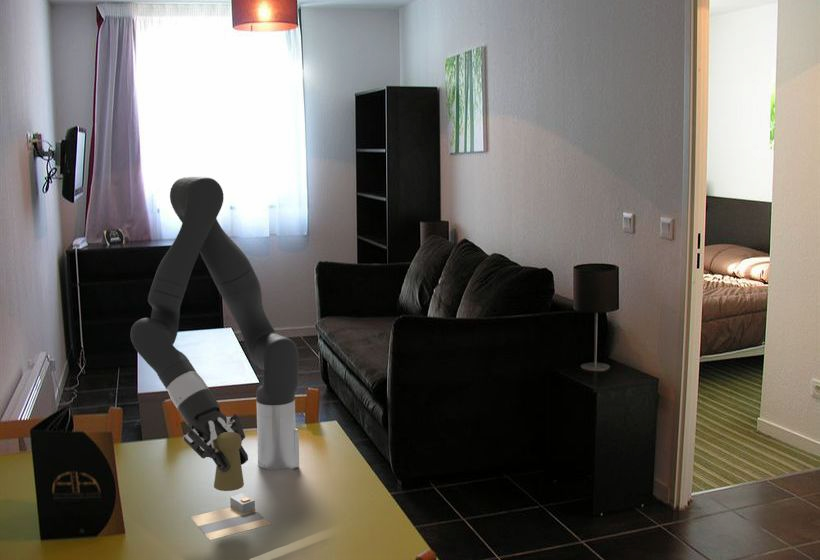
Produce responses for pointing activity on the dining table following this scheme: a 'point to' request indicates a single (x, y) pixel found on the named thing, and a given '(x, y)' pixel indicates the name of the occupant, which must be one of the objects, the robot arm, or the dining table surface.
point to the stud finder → (242, 503)
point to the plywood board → (228, 522)
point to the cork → (230, 449)
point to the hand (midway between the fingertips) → (236, 465)
